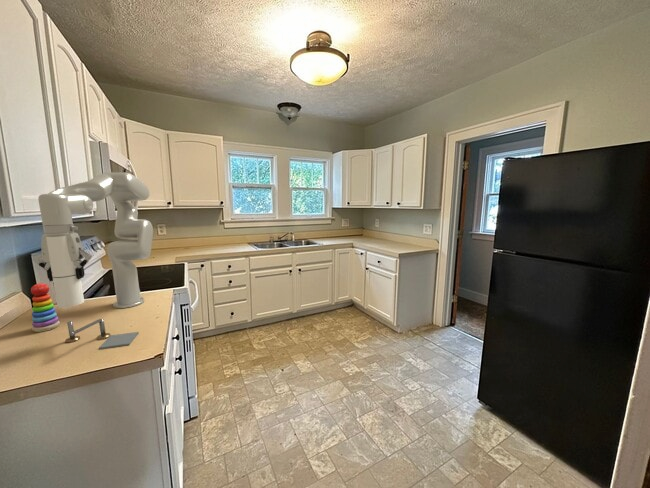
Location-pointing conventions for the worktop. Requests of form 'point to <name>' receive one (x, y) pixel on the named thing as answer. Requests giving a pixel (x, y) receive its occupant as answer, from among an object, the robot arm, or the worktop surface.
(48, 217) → the robot arm
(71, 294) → the cylindrical container
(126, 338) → the mat
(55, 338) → the worktop surface
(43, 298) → the stacking toy
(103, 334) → the metal linkage
